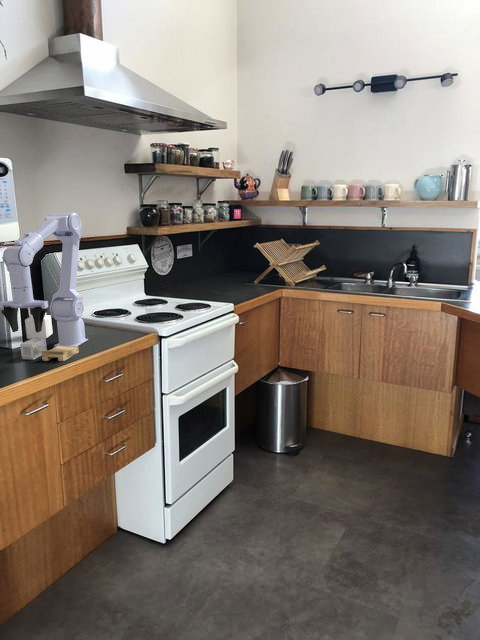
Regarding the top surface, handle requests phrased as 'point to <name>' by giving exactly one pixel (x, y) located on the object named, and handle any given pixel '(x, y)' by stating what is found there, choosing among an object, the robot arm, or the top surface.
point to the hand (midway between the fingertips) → (27, 331)
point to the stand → (60, 353)
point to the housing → (33, 348)
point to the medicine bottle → (45, 326)
